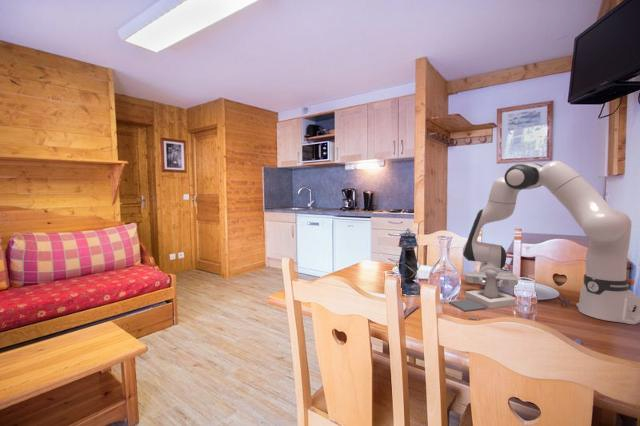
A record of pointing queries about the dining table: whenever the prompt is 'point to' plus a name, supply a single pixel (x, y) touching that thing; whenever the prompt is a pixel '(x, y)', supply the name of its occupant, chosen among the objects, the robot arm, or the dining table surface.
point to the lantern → (408, 264)
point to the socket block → (490, 303)
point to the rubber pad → (467, 305)
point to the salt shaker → (491, 285)
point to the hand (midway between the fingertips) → (491, 284)
